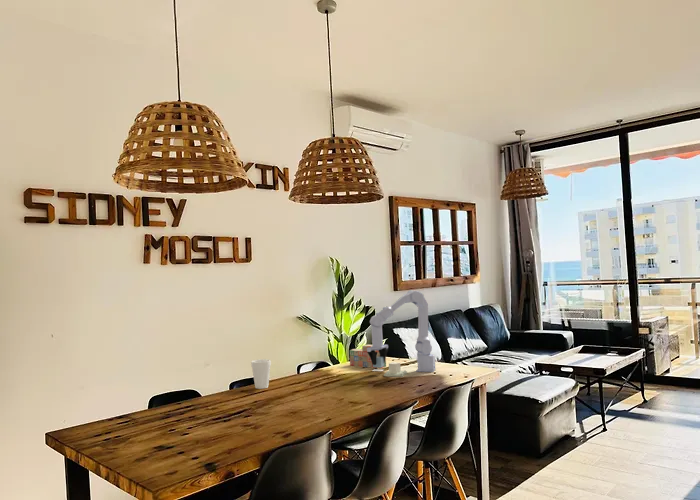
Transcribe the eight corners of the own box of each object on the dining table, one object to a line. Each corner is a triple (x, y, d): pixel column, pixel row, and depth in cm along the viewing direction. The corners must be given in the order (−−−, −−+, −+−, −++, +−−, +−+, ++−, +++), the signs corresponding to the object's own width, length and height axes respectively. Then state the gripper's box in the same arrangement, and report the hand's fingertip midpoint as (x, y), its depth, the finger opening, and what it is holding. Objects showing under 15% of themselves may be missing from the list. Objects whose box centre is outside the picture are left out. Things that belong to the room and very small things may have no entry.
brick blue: (383, 365, 285) (383, 356, 285) (381, 367, 281) (381, 357, 281) (375, 365, 287) (375, 356, 287) (373, 367, 283) (372, 357, 283)
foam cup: (269, 384, 269) (269, 358, 269) (272, 388, 260) (272, 361, 260) (251, 386, 266) (250, 360, 266) (253, 390, 257) (252, 363, 257)
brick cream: (393, 371, 285) (392, 362, 285) (400, 372, 283) (400, 362, 283) (389, 373, 281) (388, 363, 282) (396, 373, 279) (396, 364, 279)
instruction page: (384, 369, 296) (384, 369, 296) (382, 371, 292) (382, 370, 292) (373, 369, 298) (373, 369, 298) (371, 371, 294) (371, 370, 294)
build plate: (406, 373, 285) (406, 370, 285) (402, 376, 275) (402, 374, 275) (388, 372, 288) (388, 369, 288) (383, 376, 279) (383, 373, 279)
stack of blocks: (349, 365, 314) (348, 345, 314) (355, 364, 319) (354, 343, 320) (381, 368, 302) (380, 346, 303) (386, 366, 308) (385, 345, 308)
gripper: (373, 340, 277) (374, 366, 276) (391, 337, 287) (393, 362, 286) (363, 339, 282) (364, 365, 281) (382, 336, 292) (383, 361, 291)
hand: (378, 363), depth 284 cm, fingers closed on brick blue, 6 cm apart
